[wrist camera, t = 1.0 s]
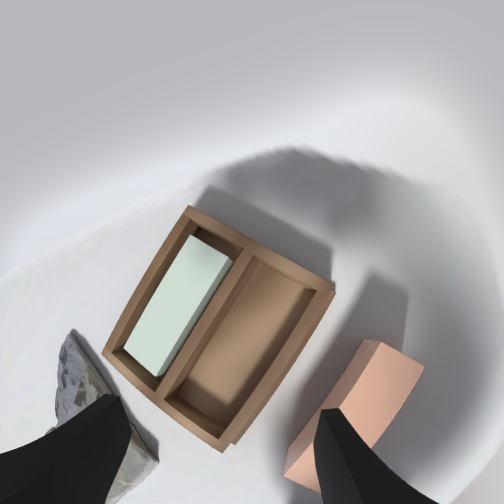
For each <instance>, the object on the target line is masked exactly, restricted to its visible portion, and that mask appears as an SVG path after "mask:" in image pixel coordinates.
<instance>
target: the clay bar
mask: <svg viewBox="0 0 504 504" xmlns="http://www.w3.org/2000/svg"><path fill="white" fill-rule="evenodd" d="M424 368H425V366H423V365H422V364H420V363H418V362H416V361H414V360H413V359H411V358H409V357H407V356H406V355H404V354H402V353H400V352H399V351H397V350H395V349H393V348H392V347H390V346H388V345H386V344H385V343H383V342H381V341H375V340H370V339H364V340H363V342H362V343H361V345H360V347H359V348H358V350H357V352H356V353H355V355H354V357H353V358H352V360H351V361H350V363H349V365H348V366H347V368H346V369H345V371H344V372H343V374H342V375H341V377H340V378H339V380H338V381H337V383H336V384H335V386H334V387H333V389H332V390H331V392H330V393H329V395H328V396H327V397H326V399H325V400H324V402H323V403H322V404H321V406H320V407H319V409H318V410H317V411H316V413H315V414H314V415H313V417H312V418H311V419H310V421H309V422H308V423H307V424H306V426H305V427H304V428H303V430H302V431H301V432H300V433H299V435H298V436H297V437H296V438H295V440H294V441H293V442H292V443H291V444H290V446H289V447H288V452H287V457H286V462H285V467H284V471H283V477H285V478H287V479H289V480H291V481H294V482H296V483H298V484H300V485H302V486H304V487H306V488H309V489H311V490H313V491H316V492H318V493H320V494H321V490H320V485H319V481H318V477H317V472H316V468H315V459H314V448H313V441H314V437H315V434H316V430H317V425H318V421H319V417H320V413H321V409H331V408H339V409H340V410H341V411H342V413H343V414H344V415H345V417H346V418H347V420H348V421H349V422H350V424H351V425H352V426H353V428H354V429H355V430H356V432H357V433H358V434H359V435H360V437H361V438H362V439H363V440H364V442H365V443H366V444H367V445H368V446H369V447H370V448H372V447H373V445H374V444H375V443H376V442H377V440H378V439H379V438H380V436H381V435H382V434H383V432H384V431H385V430H386V428H387V427H388V426H389V424H390V423H391V421H392V420H393V418H394V417H395V416H396V414H397V413H398V411H399V410H400V408H401V407H402V405H403V404H404V402H405V400H406V399H407V397H408V396H409V394H410V392H411V391H412V389H413V387H414V386H415V384H416V382H417V381H418V379H419V377H420V375H421V374H422V372H423V370H424Z"/></svg>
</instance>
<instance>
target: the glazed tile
mask: <svg viewBox="0 0 504 504" xmlns="http://www.w3.org/2000/svg"><path fill="white" fill-rule="evenodd" d="M233 265H234V262H233V261H232V260H231V259H230V258H229V257H227V256H225V255H224V254H222V253H220V252H219V251H217V250H215V249H214V248H212V247H210V246H209V245H207V244H205V243H204V242H202V241H200V240H199V239H197V238H195V237H194V236H192V235H190V236H189V238H188V239H187V241H186V242H185V244H184V245H183V247H182V249H181V250H180V252H179V253H178V255H177V257H176V258H175V260H174V261H173V263H172V265H171V266H170V268H169V270H168V271H167V273H166V274H165V276H164V278H163V279H162V281H161V283H160V284H159V286H158V288H157V289H156V291H155V293H154V295H153V296H152V298H151V300H150V301H149V303H148V305H147V307H146V308H145V310H144V312H143V314H142V315H141V317H140V319H139V321H138V322H137V324H136V326H135V328H134V330H133V331H132V333H131V335H130V337H129V339H128V340H127V342H126V344H125V346H124V349H125V350H126V351H127V352H128V353H129V354H131V355H132V356H133V357H134V358H135V359H136V360H137V361H138V362H139V363H140V364H142V365H143V366H144V367H145V368H146V369H147V370H148V371H150V372H151V373H152V374H153V375H154V376H155V377H156V376H160V375H164V374H167V372H168V370H169V369H170V367H171V365H172V364H173V362H174V360H175V359H176V357H177V356H178V354H179V352H180V351H181V349H182V347H183V346H184V344H185V342H186V341H187V339H188V338H189V336H190V334H191V333H192V331H193V329H194V328H195V326H196V324H197V323H198V321H199V320H200V318H201V316H202V315H203V313H204V312H205V310H206V308H207V307H208V305H209V303H210V302H211V300H212V299H213V297H214V295H215V294H216V292H217V290H218V289H219V287H220V286H221V284H222V282H223V281H224V279H225V278H226V276H227V274H228V273H229V271H230V270H231V268H232V266H233Z"/></svg>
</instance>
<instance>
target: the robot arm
mask: <svg viewBox="0 0 504 504" xmlns="http://www.w3.org/2000/svg"><path fill="white" fill-rule="evenodd" d="M132 431H133V430H132V428H131V426H130V423H129V421H128V418H127V416H126V413H125V411H124V408H123V405H122V403H121V400H120V397H119V396H115V395H111V394H107V393H105V394H104V395H102V396H101V397H100V398H98V399H97V400H96V401H94V402H93V403H92V404H90V405H89V406H88V407H86V408H85V409H83V410H82V411H81V412H79V413H78V414H77V415H75V416H74V417H72V418H71V419H70V420H68V421H67V422H65V423H64V424H62V425H61V426H59V427H58V428H56V429H54V430H53V431H51V432H50V433H48V434H46V435H45V436H43V437H41V438H39V439H37V440H35V441H33V442H31V443H29V444H27V445H24V446H22V447H19V448H16V449H14V450H11V451H8V452H5V453H1V454H0V504H105V502H106V499H107V496H108V493H109V491H110V488H111V486H112V484H113V482H114V479H115V477H116V475H117V473H118V470H119V468H120V466H121V464H122V461H123V459H124V457H125V455H126V452H127V449H128V446H129V442H130V439H131V435H132ZM313 448H314V459H315V468H316V472H317V477H318V481H319V485H320V490H321V494H322V499H323V503H324V504H439V503H437V502H435V501H434V500H432V499H430V498H428V497H427V496H425V495H423V494H422V493H420V492H419V491H417V490H416V489H414V488H413V487H411V486H410V485H409V484H407V483H406V482H405V481H404V480H402V479H401V478H400V477H399V476H398V475H396V474H395V473H394V472H393V471H392V470H391V469H390V468H389V467H388V466H387V465H386V464H385V463H384V462H383V461H382V460H381V459H380V458H379V457H378V456H377V455H376V454H375V453H374V452H373V451H372V450H371V448H370V447H369V446H368V445H367V444H366V443H365V442H364V440H363V439H362V438H361V437H360V435H359V434H358V433H357V432H356V430H355V429H354V428H353V426H352V425H351V424H350V422H349V421H348V420H347V418H346V417H345V415H344V414H343V413H342V411H341V410H340V409H339V408H331V409H321V413H320V417H319V421H318V425H317V430H316V434H315V437H314V441H313Z"/></svg>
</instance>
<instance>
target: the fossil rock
mask: <svg viewBox="0 0 504 504" xmlns="http://www.w3.org/2000/svg"><path fill="white" fill-rule="evenodd" d="M57 377H58V388H57V391H56V398H55V412H56V417H57V419H58V424H57V426H56V428H58V427H59V426H61V425H62V424H64V423H65V422H67V421H68V420H70V419H71V418H72V417H74V416H75V415H77V414H78V413H79V412H81V411H82V410H83V409H85V408H86V407H88V406H89V405H90V404H92V403H93V402H94V401H96V400H97V399H98V398H100V397H101V396H102V395H104V394H105V393H107V394H111V395H112V393H111V391H110V389H109V387H108V386H107V385H106V383H105V382H104V380H103V379H102V378H101V376H100V374H99V372H98V371H97V369H96V368H95V367H94V366H93V364H92V363H91V361H90V359H89V358H88V357H87V355H86V354H85V352H84V351H83V349H82V348H81V346H80V345H79V343H78V341H77V339H76V337H75V336H74V335H72V334H68V335H67V337H66V340H65V342H64V343H63V344H62V346H61V350H60V354H59V363H58V373H57ZM129 423H130V422H129ZM130 426H131V428H132V430H133V431H132V435H131V439H130V442H129V446H128V449H127V452H126V455H125V457H124V459H123V461H122V464H121V466H120V468H119V470H118V473H117V475H116V477H115V479H114V482H113V484H112V486H111V488H110V491H109V493H108V496H107V499H106V502H105V504H116V502H117V501H118V500H119V499H120V498H121V497H122V496H123V495H124V494H125V493H126V492H128V491H129V490H131V489H132V488H135V487H136V486H137V485H138V484H140V483H141V482H142V481H143V480H144V479H145V478H146V477H147V476H148V475H150V473H151V472H152V471H153V470H154V469H155V468H156V466H157V465H158V464H159V461H158V460H157V458H156V457H155V456H154V455H153V454H152V453H151V452H150V451H149V449H148V448H147V447H146V445H145V444H144V442H143V441H142V439H141V438H140V437H139V435H138V433H137V432H136V429H135V427H134V426H133V425H132V424H131V423H130ZM56 428H55V429H56ZM51 431H53V430H50V431H49V432H47V434H48V433H50V432H51Z"/></svg>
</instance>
